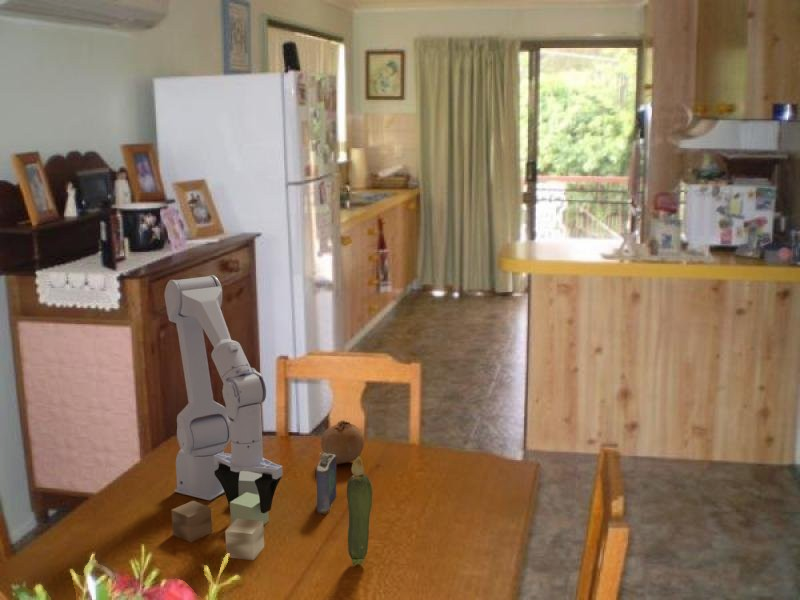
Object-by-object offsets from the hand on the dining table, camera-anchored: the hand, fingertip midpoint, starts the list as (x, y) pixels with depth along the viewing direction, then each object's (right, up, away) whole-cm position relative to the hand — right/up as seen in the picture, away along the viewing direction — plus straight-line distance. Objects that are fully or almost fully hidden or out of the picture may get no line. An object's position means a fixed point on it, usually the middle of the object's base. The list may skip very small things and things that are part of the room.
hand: (249, 507), depth 167 cm
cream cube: (+1, -6, -10) cm, 11 cm away
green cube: (0, -3, +1) cm, 4 cm away
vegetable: (+21, -7, -14) cm, 26 cm away
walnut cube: (-10, -4, -3) cm, 11 cm away
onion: (+16, +3, +29) cm, 33 cm away
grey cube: (-2, -1, +12) cm, 12 cm away
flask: (+14, -2, +9) cm, 16 cm away
